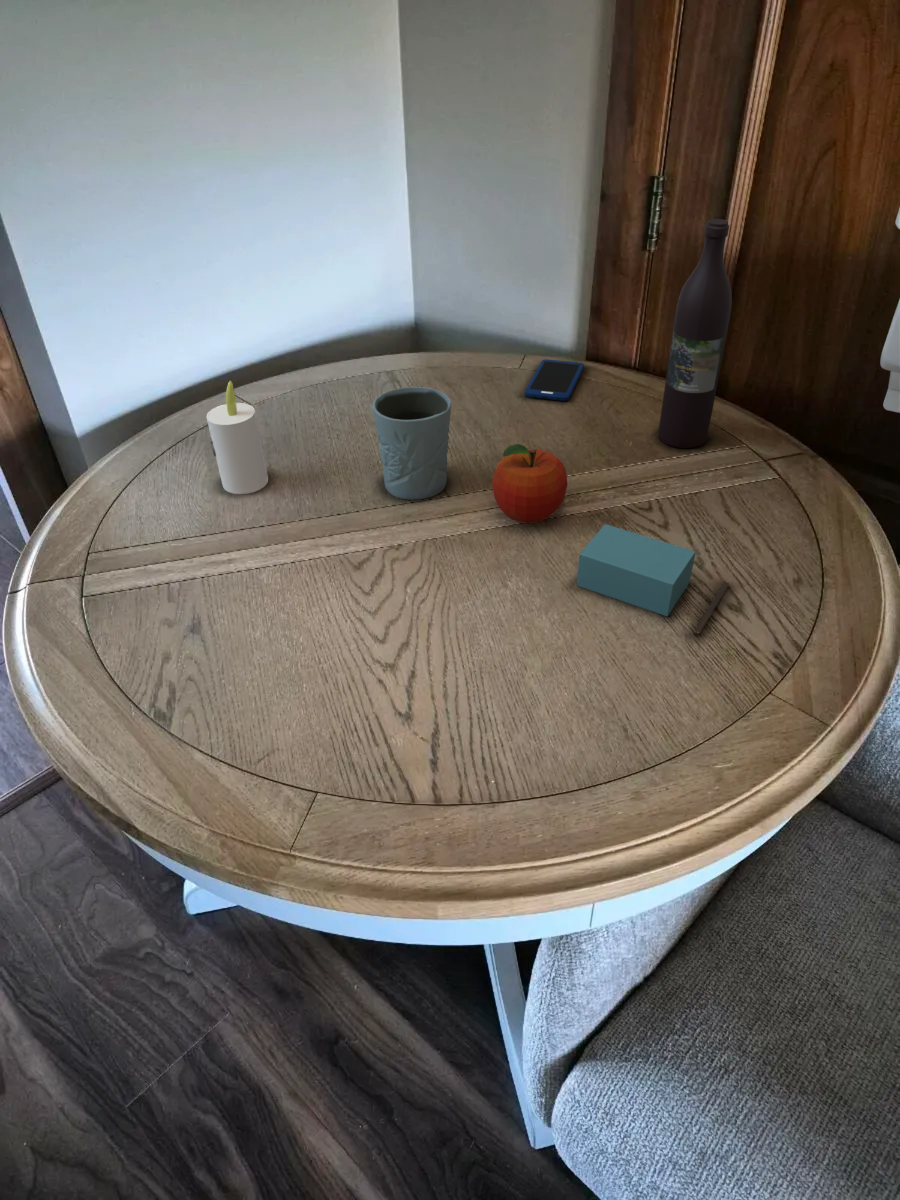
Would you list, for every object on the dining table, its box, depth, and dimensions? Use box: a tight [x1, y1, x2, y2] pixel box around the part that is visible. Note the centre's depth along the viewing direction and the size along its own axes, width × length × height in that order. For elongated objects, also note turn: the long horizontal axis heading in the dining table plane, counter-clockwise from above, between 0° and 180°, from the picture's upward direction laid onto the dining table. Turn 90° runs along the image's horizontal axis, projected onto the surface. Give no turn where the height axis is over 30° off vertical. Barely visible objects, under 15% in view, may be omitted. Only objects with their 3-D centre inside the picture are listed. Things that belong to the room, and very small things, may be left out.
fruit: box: [491, 443, 568, 524], centre depth 104 cm, size 10×10×10 cm
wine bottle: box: [657, 218, 733, 449], centre depth 112 cm, size 7×7×30 cm
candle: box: [206, 380, 269, 495], centre depth 110 cm, size 6×6×15 cm
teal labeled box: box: [576, 523, 696, 617], centre depth 94 cm, size 11×7×4 cm, turn 58°
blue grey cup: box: [371, 386, 452, 501], centre depth 110 cm, size 10×10×12 cm
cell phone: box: [524, 359, 585, 402], centre depth 137 cm, size 7×14×1 cm, turn 162°
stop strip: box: [692, 581, 730, 638], centre depth 91 cm, size 1×10×1 cm, turn 147°
